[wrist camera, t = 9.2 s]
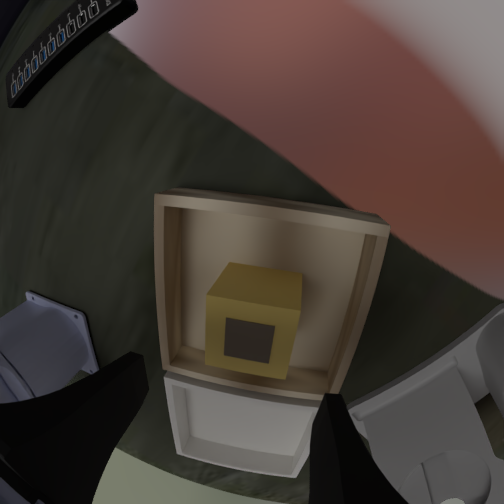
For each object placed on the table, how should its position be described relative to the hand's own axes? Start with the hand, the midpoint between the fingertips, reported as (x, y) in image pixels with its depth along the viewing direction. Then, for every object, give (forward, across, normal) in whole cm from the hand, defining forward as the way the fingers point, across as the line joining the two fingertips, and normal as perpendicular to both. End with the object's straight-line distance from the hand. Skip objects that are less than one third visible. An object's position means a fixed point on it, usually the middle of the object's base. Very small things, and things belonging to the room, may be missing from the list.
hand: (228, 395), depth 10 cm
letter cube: (+9, 0, 0) cm, 9 cm away
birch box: (+9, 0, 0) cm, 9 cm away
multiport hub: (+10, +19, -18) cm, 28 cm away
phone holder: (+9, -18, +7) cm, 21 cm away
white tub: (+9, 0, +13) cm, 16 cm away
